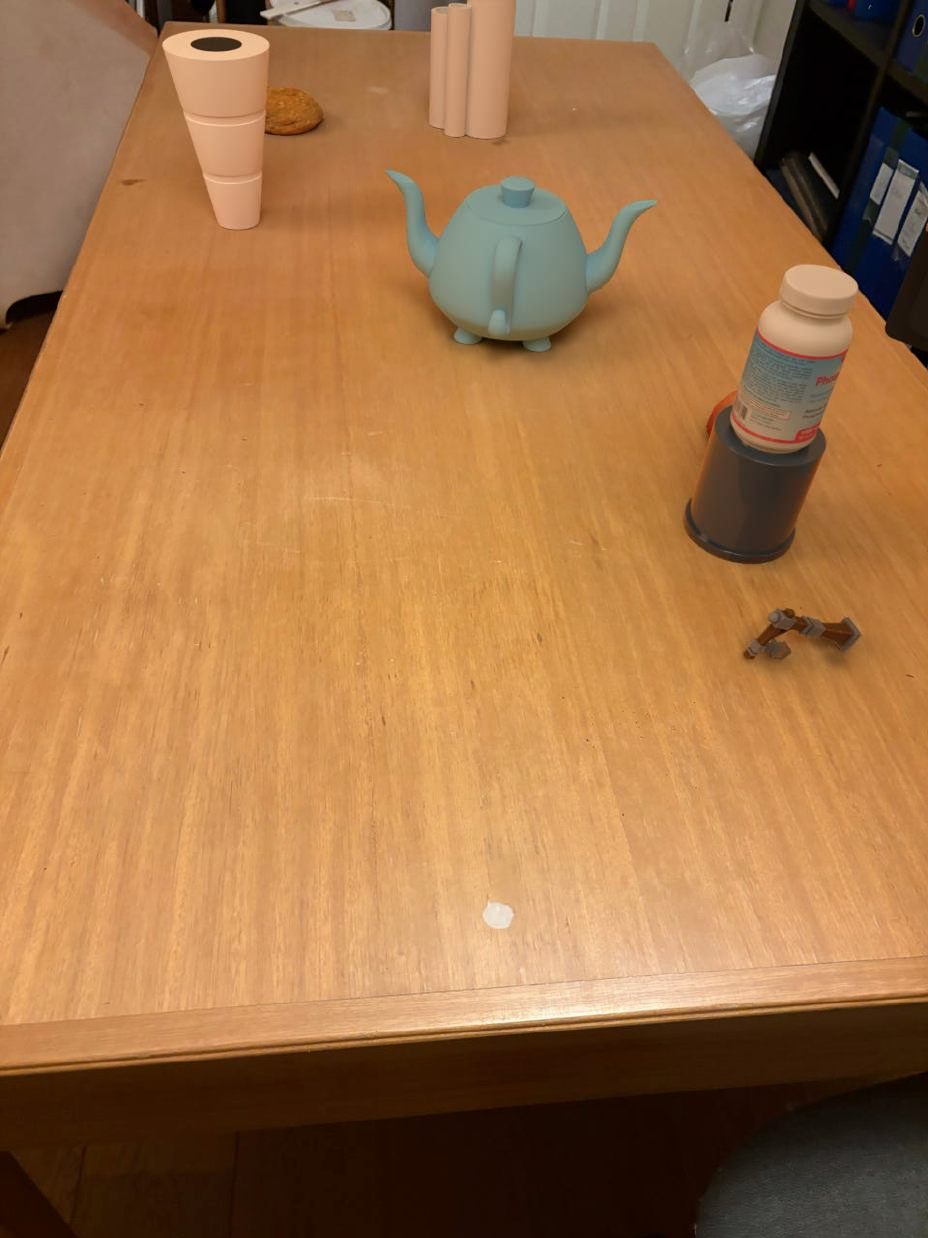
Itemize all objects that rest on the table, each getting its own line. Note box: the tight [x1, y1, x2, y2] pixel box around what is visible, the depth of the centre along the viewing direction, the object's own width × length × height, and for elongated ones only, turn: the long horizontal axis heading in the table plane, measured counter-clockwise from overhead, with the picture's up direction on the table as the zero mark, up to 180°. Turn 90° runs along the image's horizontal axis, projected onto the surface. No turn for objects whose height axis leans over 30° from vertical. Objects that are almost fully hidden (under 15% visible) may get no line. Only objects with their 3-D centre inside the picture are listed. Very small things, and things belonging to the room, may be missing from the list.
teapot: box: [385, 169, 659, 353], centre depth 89 cm, size 16×20×14 cm
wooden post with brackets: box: [743, 607, 863, 661], centre depth 63 cm, size 2×8×4 cm, turn 106°
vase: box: [428, 0, 517, 140], centre depth 125 cm, size 11×7×20 cm, turn 82°
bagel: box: [264, 86, 324, 136], centre depth 128 cm, size 10×11×5 cm
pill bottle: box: [730, 264, 859, 451], centre depth 63 cm, size 6×6×11 cm
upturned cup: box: [682, 405, 827, 565], centre depth 70 cm, size 9×9×9 cm
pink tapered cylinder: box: [162, 28, 270, 231], centre depth 101 cm, size 11×11×18 cm
